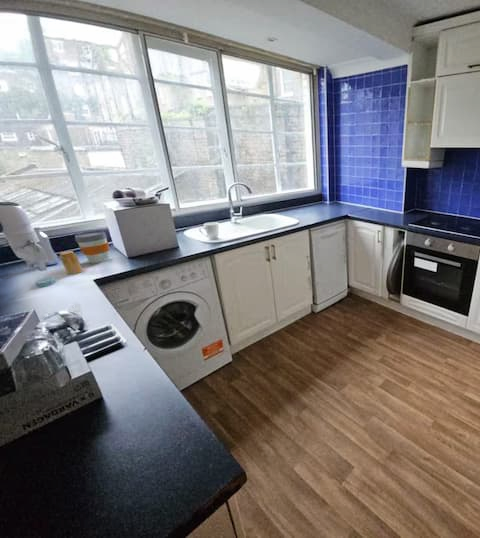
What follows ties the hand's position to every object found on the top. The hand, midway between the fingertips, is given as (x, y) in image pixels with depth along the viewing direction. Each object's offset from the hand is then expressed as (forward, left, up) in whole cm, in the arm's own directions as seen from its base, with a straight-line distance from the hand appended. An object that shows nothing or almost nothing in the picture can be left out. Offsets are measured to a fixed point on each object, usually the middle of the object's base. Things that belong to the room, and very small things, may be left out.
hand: (38, 269), depth 132 cm
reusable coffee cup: (+20, +22, -8) cm, 30 cm away
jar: (+10, +9, -7) cm, 15 cm away
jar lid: (0, 0, -6) cm, 6 cm away
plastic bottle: (0, +33, -8) cm, 34 cm away
